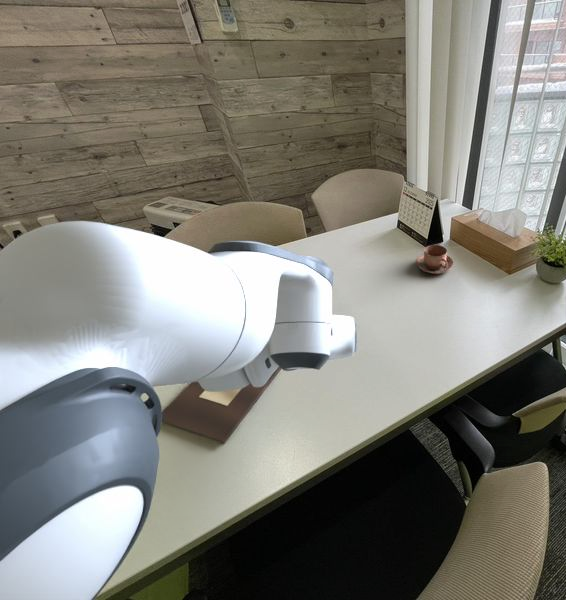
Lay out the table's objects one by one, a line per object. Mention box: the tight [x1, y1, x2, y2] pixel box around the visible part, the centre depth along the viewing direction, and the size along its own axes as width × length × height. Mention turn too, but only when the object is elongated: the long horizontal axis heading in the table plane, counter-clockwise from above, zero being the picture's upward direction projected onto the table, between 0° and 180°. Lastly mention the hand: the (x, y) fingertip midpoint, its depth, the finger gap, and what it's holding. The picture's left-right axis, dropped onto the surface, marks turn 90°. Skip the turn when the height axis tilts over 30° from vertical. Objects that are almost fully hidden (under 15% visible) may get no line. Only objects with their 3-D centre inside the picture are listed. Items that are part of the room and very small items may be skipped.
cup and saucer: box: [416, 244, 454, 275], centre depth 106 cm, size 12×12×6 cm
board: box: [162, 367, 283, 445], centre depth 69 cm, size 20×16×1 cm
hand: (195, 342), depth 60 cm, fingers closed
